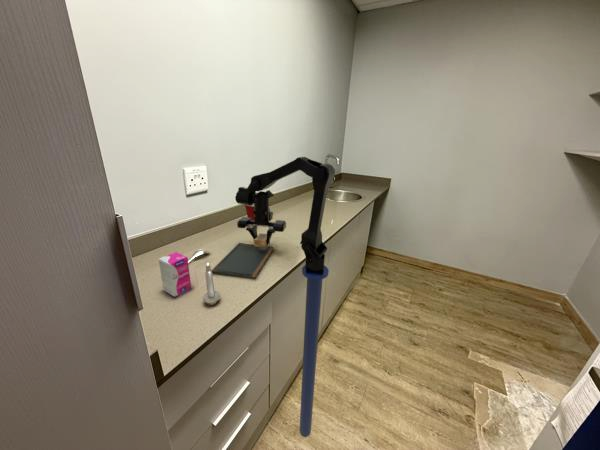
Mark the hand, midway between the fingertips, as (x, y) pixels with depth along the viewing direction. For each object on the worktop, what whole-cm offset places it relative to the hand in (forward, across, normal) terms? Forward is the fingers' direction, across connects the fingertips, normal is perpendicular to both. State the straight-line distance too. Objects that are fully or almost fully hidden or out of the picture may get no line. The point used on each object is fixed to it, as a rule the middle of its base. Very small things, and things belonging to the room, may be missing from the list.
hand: (262, 243), depth 99 cm
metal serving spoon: (+4, +24, +16) cm, 29 cm away
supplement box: (+4, +17, +31) cm, 36 cm away
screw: (+4, +4, +34) cm, 34 cm away
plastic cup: (+4, +15, -32) cm, 36 cm away
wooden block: (+1, 0, 0) cm, 1 cm away
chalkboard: (+4, +4, +8) cm, 10 cm away
